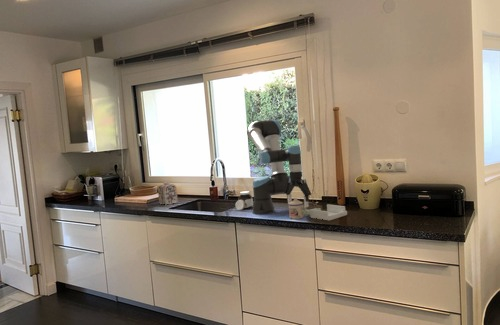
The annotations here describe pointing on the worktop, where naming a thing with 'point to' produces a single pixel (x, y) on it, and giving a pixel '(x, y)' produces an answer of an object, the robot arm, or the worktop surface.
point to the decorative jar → (167, 193)
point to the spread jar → (244, 201)
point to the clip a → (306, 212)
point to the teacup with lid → (296, 209)
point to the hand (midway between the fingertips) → (298, 206)
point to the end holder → (329, 212)
